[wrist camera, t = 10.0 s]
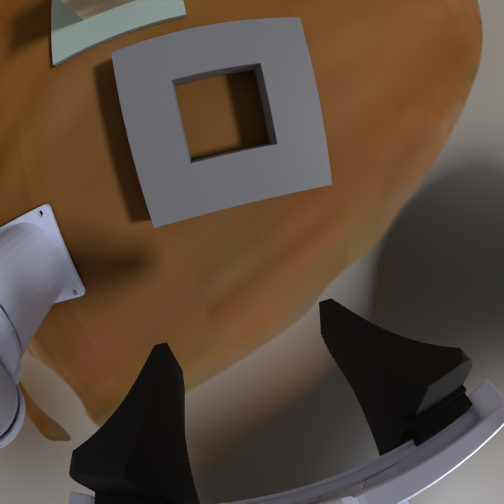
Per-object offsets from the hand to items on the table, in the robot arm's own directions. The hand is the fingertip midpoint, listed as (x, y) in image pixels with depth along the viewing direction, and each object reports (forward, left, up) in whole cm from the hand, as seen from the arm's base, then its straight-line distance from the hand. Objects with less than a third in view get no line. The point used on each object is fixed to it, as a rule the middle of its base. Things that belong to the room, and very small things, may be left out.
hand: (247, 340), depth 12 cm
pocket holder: (+2, +10, -9) cm, 14 cm away
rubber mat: (-4, +23, -9) cm, 25 cm away
